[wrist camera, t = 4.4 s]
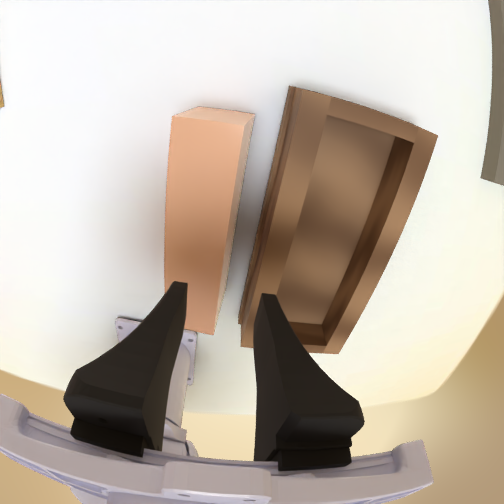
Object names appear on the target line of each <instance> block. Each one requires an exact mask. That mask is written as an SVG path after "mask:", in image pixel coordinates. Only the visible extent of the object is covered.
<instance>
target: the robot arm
mask: <svg viewBox="0 0 504 504" xmlns="http://www.w3.org/2000/svg"><path fill="white" fill-rule="evenodd" d="M187 290H188V283H185V282H178V281H174V282H172V284H171V285H170V287H169V289H168V290H167V292H166V293H165V294H164V296H163V297H162V299H161V300H160V301H159V302H158V304H157V305H156V306H155V307H154V309H153V310H152V311H151V312H150V313H149V315H148V316H147V317H146V318H145V319H144V320H143V321H142V322H137V321H132V320H127V319H122V318H117V319H116V321H115V325H116V330H117V335H118V340H119V343H118V344H117V345H116V346H114V347H113V348H112V349H110V350H109V351H107V352H106V353H104V354H103V355H101V356H100V357H98V358H97V359H95V360H94V361H92V362H90V363H88V364H86V365H85V366H83V367H81V368H79V369H77V370H76V371H75V373H74V375H73V376H72V378H71V380H70V382H69V384H68V387H67V389H66V392H65V395H64V402H65V404H66V406H67V408H68V409H69V410H70V412H71V413H72V415H73V416H74V421H73V425H72V428H69V427H66V426H63V425H60V424H57V423H55V422H52V421H50V420H47V419H44V418H42V417H40V416H37V415H35V414H32V413H30V412H29V411H28V409H27V408H26V407H25V406H24V405H23V404H22V403H20V402H18V401H16V400H14V399H12V398H10V397H8V396H6V395H4V394H0V451H1V452H2V453H3V454H4V455H6V456H7V457H9V458H10V459H12V460H14V461H16V462H18V463H20V464H21V465H24V466H26V467H27V468H29V469H31V470H34V471H36V472H38V473H40V474H42V475H44V476H46V477H48V478H51V479H53V480H55V481H58V482H60V483H62V484H65V485H67V486H69V487H70V489H71V491H72V492H73V494H74V495H75V496H76V497H77V499H78V500H79V501H80V502H81V503H82V504H381V503H385V502H389V501H392V500H396V499H400V498H403V497H405V496H408V495H410V494H412V493H414V492H416V491H419V490H421V489H423V488H425V487H427V486H429V485H431V484H433V482H434V481H433V477H432V473H431V469H430V465H429V461H428V458H427V454H426V450H425V447H424V443H423V441H422V440H417V441H412V442H407V443H404V444H401V445H399V446H397V447H395V448H394V449H393V450H392V451H389V452H383V453H377V454H370V455H364V456H357V457H351V454H350V449H349V447H351V446H352V441H351V437H352V436H353V435H355V434H356V433H357V432H358V431H359V430H360V429H361V428H362V427H363V425H364V422H365V421H364V417H363V413H362V409H361V407H360V404H359V401H357V400H356V399H355V398H353V397H352V396H351V395H349V394H348V393H347V392H346V391H344V390H343V389H342V388H341V387H339V386H338V385H337V384H336V383H335V382H334V381H333V380H332V379H331V378H330V377H329V376H328V375H327V374H326V373H325V372H324V371H323V370H322V369H321V368H320V367H319V366H318V364H317V363H316V362H315V361H314V360H313V358H312V357H311V356H310V355H309V353H308V352H307V351H306V349H305V348H304V346H303V345H302V343H301V342H300V340H299V339H298V337H297V335H296V334H295V332H294V330H293V329H292V327H291V325H290V323H289V322H288V320H287V318H286V316H285V314H284V312H283V310H282V308H281V305H280V303H279V301H278V298H277V296H276V295H275V294H267V293H262V294H261V298H260V302H259V306H258V309H257V313H256V317H255V321H254V330H253V349H254V361H255V372H256V383H257V407H256V432H255V449H254V461H237V460H222V459H211V458H202V457H198V453H197V450H196V449H195V447H194V445H193V443H192V442H191V441H188V440H186V433H187V431H186V430H185V429H182V428H181V423H182V415H183V408H184V400H185V393H186V386H187V385H192V384H193V376H194V362H195V349H196V337H197V334H196V333H195V332H194V331H190V330H184V326H185V320H186V311H187Z"/></svg>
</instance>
